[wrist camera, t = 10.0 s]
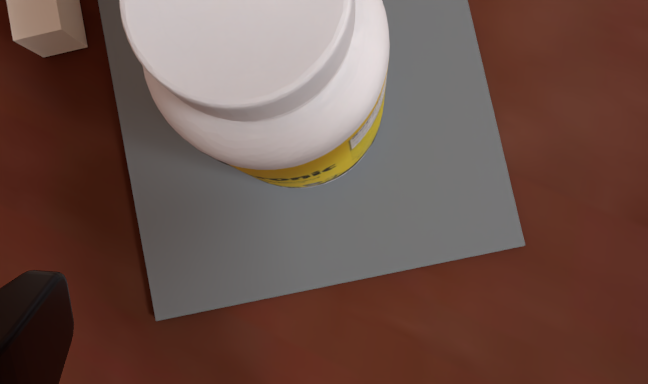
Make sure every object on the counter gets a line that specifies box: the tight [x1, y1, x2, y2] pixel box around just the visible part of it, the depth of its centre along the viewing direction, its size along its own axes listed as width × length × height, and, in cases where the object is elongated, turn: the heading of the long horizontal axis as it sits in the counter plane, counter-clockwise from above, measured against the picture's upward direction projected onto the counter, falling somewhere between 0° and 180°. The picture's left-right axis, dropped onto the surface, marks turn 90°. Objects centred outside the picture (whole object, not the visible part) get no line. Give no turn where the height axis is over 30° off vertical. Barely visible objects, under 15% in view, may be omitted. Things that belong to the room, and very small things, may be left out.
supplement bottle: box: [119, 0, 390, 188], centre depth 15 cm, size 5×5×10 cm
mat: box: [98, 0, 525, 321], centre depth 20 cm, size 12×12×1 cm
